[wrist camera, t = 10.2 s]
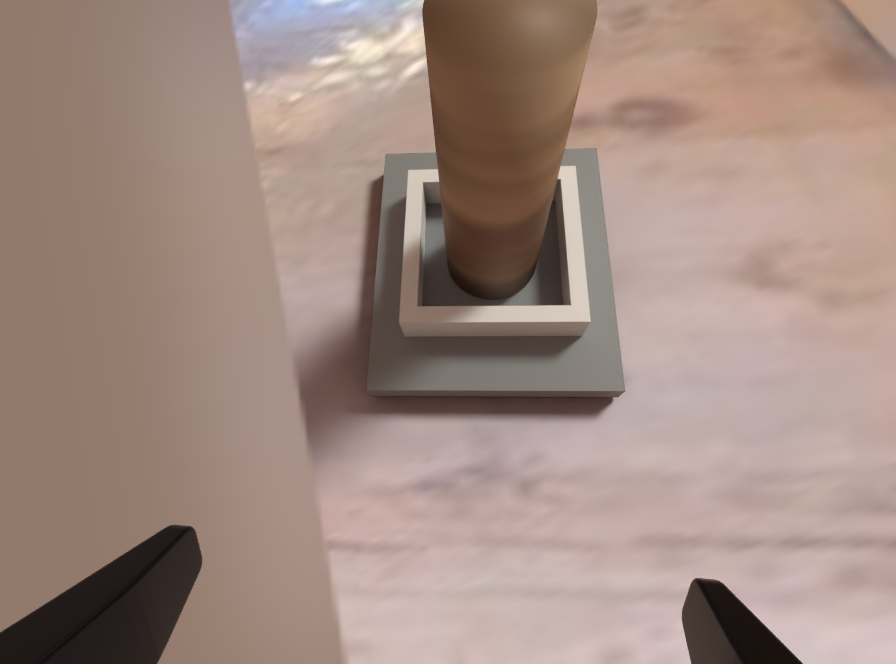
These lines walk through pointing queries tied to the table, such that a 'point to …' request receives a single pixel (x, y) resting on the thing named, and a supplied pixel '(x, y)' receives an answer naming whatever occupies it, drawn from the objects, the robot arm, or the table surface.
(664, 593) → the table surface
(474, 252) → the walnut post
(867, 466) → the table surface
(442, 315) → the grey framed base plate
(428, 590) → the table surface
